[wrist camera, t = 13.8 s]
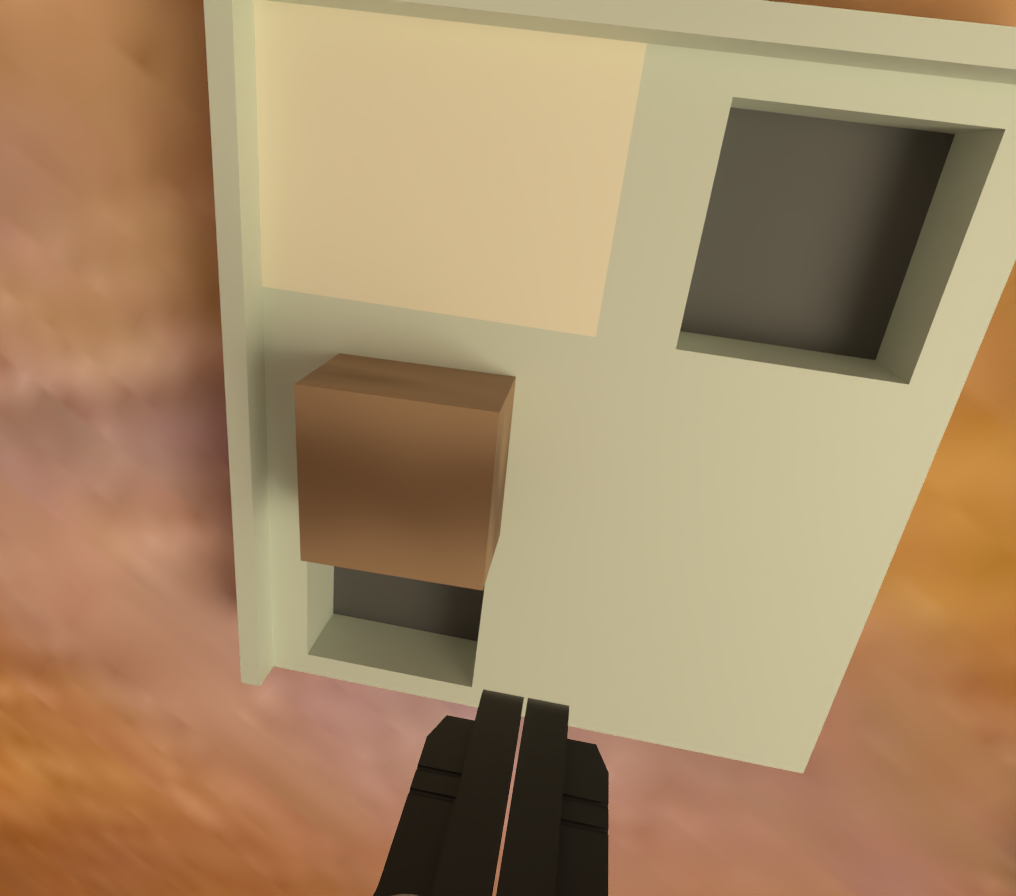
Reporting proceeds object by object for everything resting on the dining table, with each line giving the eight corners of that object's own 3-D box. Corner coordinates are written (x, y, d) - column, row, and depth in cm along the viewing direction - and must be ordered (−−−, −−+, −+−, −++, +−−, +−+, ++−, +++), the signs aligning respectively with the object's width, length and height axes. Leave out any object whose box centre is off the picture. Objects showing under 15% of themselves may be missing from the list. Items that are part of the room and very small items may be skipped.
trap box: (794, 718, 29) (828, 820, 25) (279, 617, 31) (221, 694, 27) (1044, 73, 19) (1179, 44, 15) (263, -14, 21) (167, -63, 17)
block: (500, 534, 24) (482, 590, 21) (341, 509, 25) (300, 560, 22) (515, 376, 22) (499, 412, 19) (339, 353, 22) (294, 384, 19)
